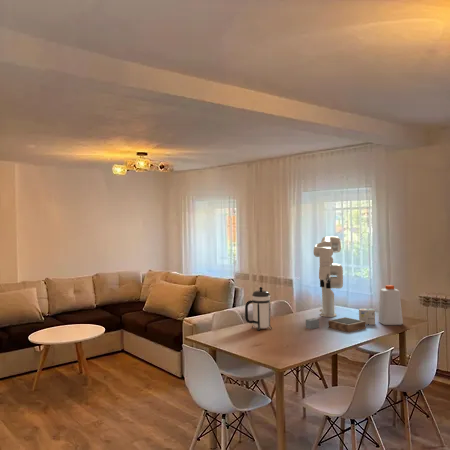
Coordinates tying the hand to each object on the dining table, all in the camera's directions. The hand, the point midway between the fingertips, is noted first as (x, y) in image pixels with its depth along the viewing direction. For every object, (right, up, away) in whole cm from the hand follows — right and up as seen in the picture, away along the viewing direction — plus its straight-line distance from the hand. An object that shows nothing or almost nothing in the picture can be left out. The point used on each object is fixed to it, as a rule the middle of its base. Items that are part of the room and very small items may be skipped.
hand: (325, 287), depth 326 cm
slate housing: (-11, -28, -6) cm, 31 cm away
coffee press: (-48, -29, -7) cm, 57 cm away
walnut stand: (+13, -27, -9) cm, 32 cm away
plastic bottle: (+49, -27, +3) cm, 56 cm away
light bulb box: (+32, -27, +3) cm, 42 cm away
